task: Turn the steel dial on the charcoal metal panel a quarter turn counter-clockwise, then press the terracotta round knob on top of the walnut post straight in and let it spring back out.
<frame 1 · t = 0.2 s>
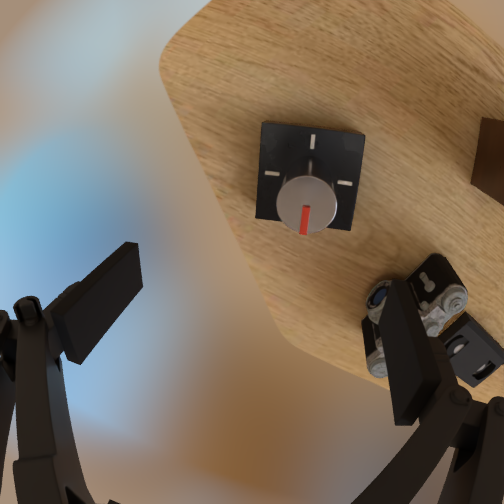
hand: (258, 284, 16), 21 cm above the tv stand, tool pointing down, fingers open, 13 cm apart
dial: (307, 189, 27), point 8 cm above the tv stand, hinge at 0.0°
dial panel: (309, 171, 34), on the tv stand
vhs tape: (468, 348, 40), on the tv stand
pillar: (502, 158, 28), on the tv stand
camera: (396, 289, 38), on the tv stand
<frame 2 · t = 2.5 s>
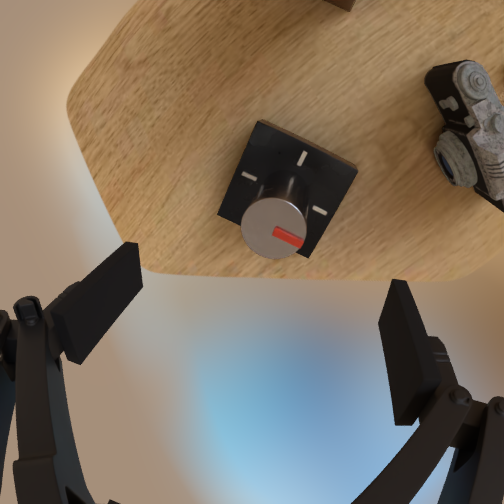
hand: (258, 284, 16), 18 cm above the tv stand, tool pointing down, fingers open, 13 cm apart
dial: (279, 208, 25), point 8 cm above the tv stand, hinge at 0.0°
dial panel: (287, 184, 32), on the tv stand
camera: (454, 138, 27), on the tv stand
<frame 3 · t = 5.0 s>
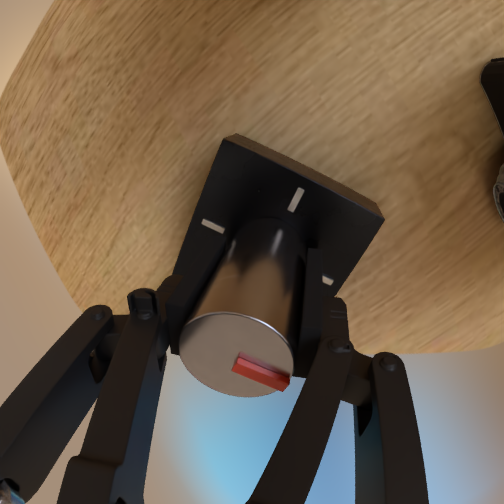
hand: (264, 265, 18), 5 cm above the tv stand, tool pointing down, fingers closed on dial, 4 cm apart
dial: (255, 295, 15), point 8 cm above the tv stand, hinge at -0.1°, touching gripper
dial panel: (274, 232, 22), on the tv stand
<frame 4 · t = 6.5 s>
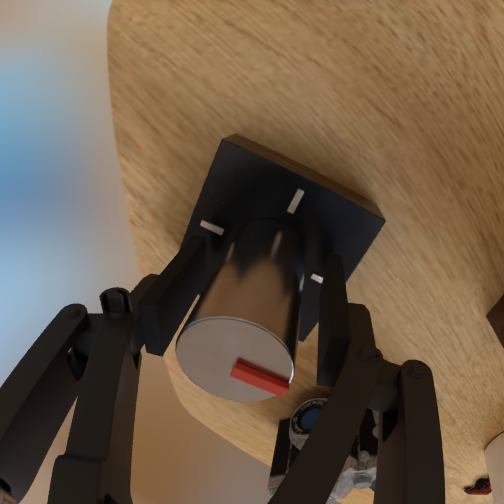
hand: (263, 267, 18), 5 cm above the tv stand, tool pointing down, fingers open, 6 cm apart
dial: (254, 298, 15), point 8 cm above the tv stand, hinge at 90.0°
dial panel: (274, 233, 22), on the tv stand
camera: (336, 402, 28), on the tv stand
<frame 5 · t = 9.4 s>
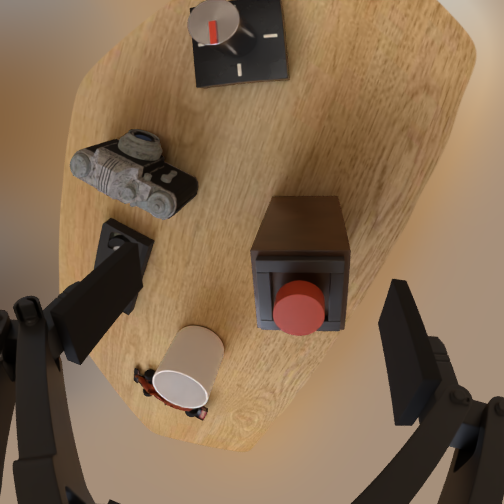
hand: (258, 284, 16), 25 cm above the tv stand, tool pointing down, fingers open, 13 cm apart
dial: (225, 31, 25), point 8 cm above the tv stand, hinge at 90.0°
dial panel: (242, 43, 32), on the tv stand
toy car: (172, 387, 60), on the tv stand
mug: (198, 348, 54), on the tv stand
vhs tape: (122, 265, 49), on the tv stand
press knob: (299, 308, 25), point 17 cm above the tv stand, slide at 0.1 cm
pillar: (305, 226, 41), on the tv stand
camera: (153, 157, 40), on the tv stand
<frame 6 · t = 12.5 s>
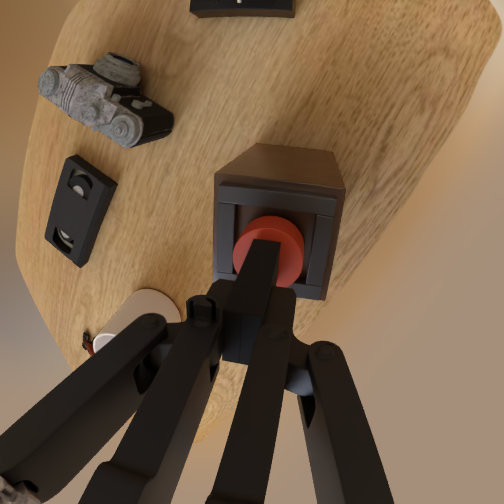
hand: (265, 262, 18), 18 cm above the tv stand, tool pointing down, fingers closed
mug: (152, 317, 47), on the tv stand
vhs tape: (81, 210, 41), on the tv stand
press knob: (269, 253, 19), point 17 cm above the tv stand, slide at -0.3 cm, touching gripper
pillar: (290, 183, 34), on the tv stand
camera: (131, 89, 32), on the tv stand
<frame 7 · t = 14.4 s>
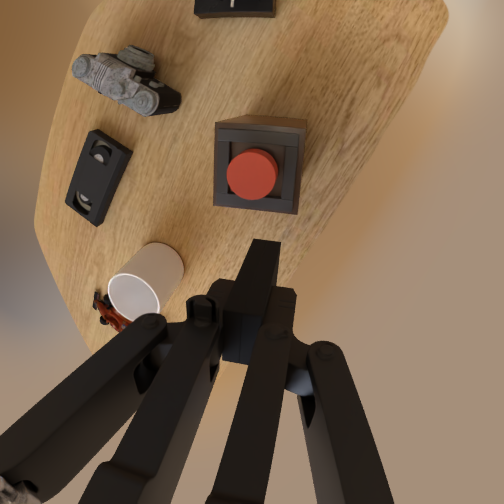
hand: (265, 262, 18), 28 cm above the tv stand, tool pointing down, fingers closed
toy car: (129, 316, 61), on the tv stand
mug: (158, 270, 54), on the tv stand
vhs tape: (99, 176, 48), on the tv stand
press knob: (252, 173, 27), point 17 cm above the tv stand, slide at 0.1 cm
pillar: (274, 145, 42), on the tv stand
camera: (146, 74, 40), on the tv stand
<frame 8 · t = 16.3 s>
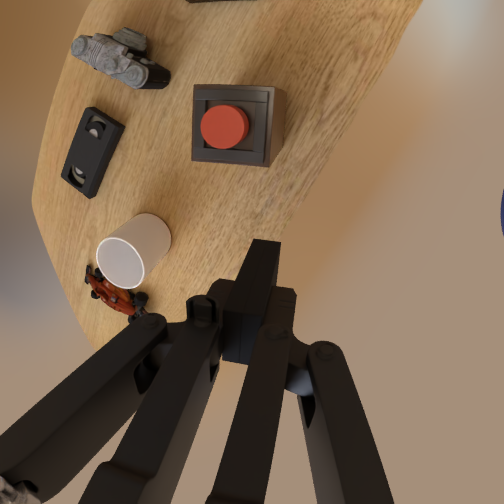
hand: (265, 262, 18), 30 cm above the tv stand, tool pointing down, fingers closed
toy car: (119, 290, 62), on the tv stand
mug: (147, 242, 56), on the tv stand
vhs tape: (94, 151, 50), on the tv stand
press knob: (225, 126, 28), point 17 cm above the tv stand, slide at 0.1 cm
pillar: (256, 117, 43), on the tv stand
camera: (139, 55, 41), on the tv stand
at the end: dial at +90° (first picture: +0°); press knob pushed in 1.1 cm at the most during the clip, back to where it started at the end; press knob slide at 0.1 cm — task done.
